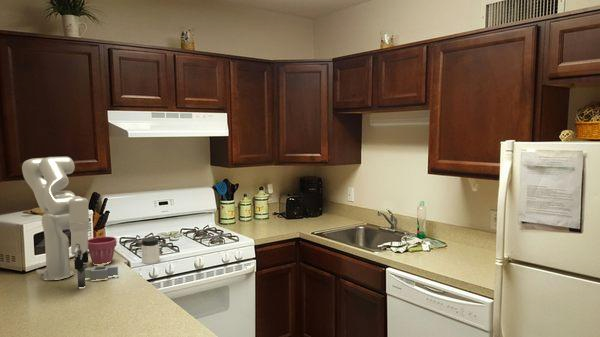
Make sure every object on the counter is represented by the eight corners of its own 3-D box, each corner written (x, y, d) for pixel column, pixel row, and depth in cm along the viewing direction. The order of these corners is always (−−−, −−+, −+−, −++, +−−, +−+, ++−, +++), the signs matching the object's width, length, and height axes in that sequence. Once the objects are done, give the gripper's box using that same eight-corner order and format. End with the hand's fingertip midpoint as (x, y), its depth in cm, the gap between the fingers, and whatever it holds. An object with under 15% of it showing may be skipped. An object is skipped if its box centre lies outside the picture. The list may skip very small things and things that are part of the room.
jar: (138, 262, 219) (137, 240, 218) (151, 258, 226) (150, 236, 225) (150, 265, 214) (149, 242, 213) (162, 260, 221) (162, 238, 221)
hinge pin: (74, 290, 179) (73, 267, 178) (77, 286, 183) (76, 264, 182) (86, 289, 180) (85, 266, 179) (89, 285, 184) (88, 263, 184)
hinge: (80, 282, 188) (80, 271, 188) (84, 277, 195) (84, 267, 195) (116, 279, 192) (116, 269, 192) (119, 274, 199) (118, 264, 199)
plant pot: (115, 266, 212) (114, 241, 211) (84, 269, 208) (83, 243, 207) (118, 258, 225) (118, 235, 225) (90, 261, 222) (89, 237, 221)
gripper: (75, 223, 187) (77, 261, 188) (64, 231, 170) (66, 272, 171) (93, 222, 189) (95, 259, 190) (84, 229, 172) (86, 270, 173)
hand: (81, 265), depth 180 cm, fingers open, 9 cm apart
